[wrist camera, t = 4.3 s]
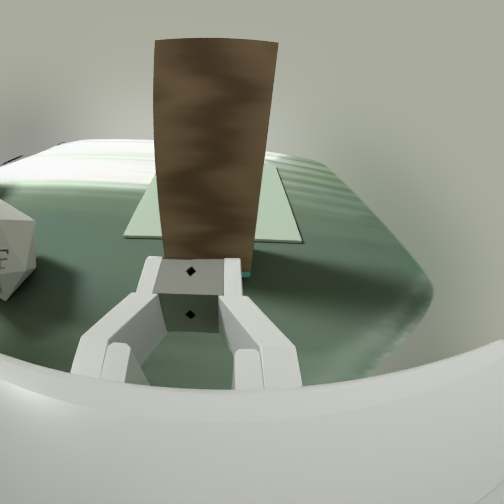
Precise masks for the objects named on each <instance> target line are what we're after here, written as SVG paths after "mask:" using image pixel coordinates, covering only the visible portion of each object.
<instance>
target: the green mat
mask: <svg viewBox="0 0 504 504" xmlns="http://www.w3.org/2000/svg"><path fill="white" fill-rule="evenodd" d="M123 236H124V238H160V239H162V232H161V223H160V214H159V204H158V193H157V181H156V174H155V176H154V178H153V179H152V181H151V183H150V185H149V186H148V188H147V190H146V192H145V194H144V196H143V197H142V199H141V201H140V203H139V205H138V207H137V209H136V211H135V213H134V215H133V217H132V219H131V221H130V223H129V225H128V227H127V229H126V231H125V233H124V235H123ZM254 241H260V242H287V243H301V242H302V240H301V237H300V234H299V231H298V228H297V225H296V222H295V219H294V216H293V214H292V211H291V208H290V205H289V202H288V199H287V197H286V194H285V191H284V188H283V186H282V183H281V180H280V177H279V175H278V172H277V169H276V167H275V165H264V166H263V174H262V182H261V191H260V199H259V207H258V215H257V223H256V231H255V240H254Z"/></svg>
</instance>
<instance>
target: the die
mask: <svg viewBox="0 0 504 504" xmlns="http://www.w3.org/2000/svg"><path fill="white" fill-rule="evenodd" d="M35 268H36V250H35V220H33V219H32V218H30V217H28V216H27V215H25V214H23V213H22V212H20V211H19V210H17V209H15V208H14V207H12V206H11V205H9V204H7V203H6V202H4V201H3V200H1V199H0V298H1V299H3V300H4V301H7V300H8V298H9V297H10V296H11V295H12V294H13V293H14V291H15V290H16V289H17V288H18V287H19V286H20V285H21V283H22V282H23V281H24V280H25V279H26V278H27V277H28V276H29V275H30V274H31V273H32V272H33V270H34V269H35Z"/></svg>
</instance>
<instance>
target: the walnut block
mask: <svg viewBox="0 0 504 504" xmlns="http://www.w3.org/2000/svg"><path fill="white" fill-rule="evenodd" d="M277 51H278V43H276V42H268V41H259V40H247V39H230V38H184V39H166V40H155V50H154V79H153V80H154V82H153V86H154V87H153V118H154V148H155V167H156V181H157V193H158V204H159V214H160V223H161V232H162V240H163V248H164V255H165V257H183V258H240V260H241V273H242V277H250V272H251V264H252V256H253V248H254V240H255V231H256V223H257V215H258V207H259V199H260V191H261V182H262V174H263V166H264V158H265V150H266V141H267V133H268V125H269V117H270V109H271V100H272V92H273V83H274V74H275V67H276V59H277Z"/></svg>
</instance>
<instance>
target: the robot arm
mask: <svg viewBox="0 0 504 504" xmlns="http://www.w3.org/2000/svg"><path fill="white" fill-rule="evenodd" d="M167 331H174V332H204V333H219V335H220V337H221V338H222V340H223V341H224V343H225V344H226V346H227V347H228V349H229V350H230V352H231V353H232V355H233V356H234V366H233V380H232V390H212V389H186V388H170V387H158V386H150V384H149V382H148V381H147V379H146V377H145V375H144V373H143V371H142V369H141V366H142V364H143V363H144V362H145V360H146V359H147V358H148V357H149V355H150V354H151V353H152V352H153V350H154V349H155V348H156V347H157V345H158V344H159V343H160V342H161V340H162V339H163V338H164V337H165V335H166V334H167ZM0 504H504V339H501V340H497V341H495V342H493V343H490V344H487V345H485V346H482V347H479V348H477V349H474V350H471V351H468V352H465V353H462V354H459V355H456V356H453V357H450V358H447V359H443V360H440V361H436V362H433V363H430V364H426V365H422V366H418V367H414V368H410V369H406V370H402V371H398V372H393V373H388V374H383V375H378V376H373V377H367V378H362V379H356V380H350V381H343V382H336V383H328V384H320V385H311V386H302V381H301V375H300V369H299V364H298V359H297V353H296V348H295V346H294V345H293V344H292V343H291V342H290V341H289V340H288V339H287V337H286V336H285V335H284V334H283V333H282V332H281V331H280V330H279V329H278V328H277V327H276V326H275V325H274V324H273V323H272V322H271V321H270V320H269V318H268V317H267V316H266V315H265V314H264V313H263V312H262V311H261V310H260V309H259V308H258V307H257V306H256V305H255V303H254V302H253V301H252V300H251V299H250V298H249V297H248V296H243V289H242V273H241V260H240V258H183V257H156V256H149V257H148V258H147V259H146V262H145V265H144V268H143V271H142V274H141V277H140V281H139V284H138V287H137V291H136V293H130V294H129V295H128V296H127V297H126V298H125V299H123V300H122V301H121V302H120V303H119V304H118V305H116V306H115V307H114V308H113V309H112V310H111V311H109V312H108V313H107V314H106V315H105V316H104V317H103V318H101V319H100V320H99V321H98V322H97V323H96V324H95V325H93V326H92V327H91V328H90V329H89V330H88V331H87V332H86V333H84V334H83V335H82V336H81V338H80V341H79V345H78V348H77V351H76V354H75V357H74V361H73V364H72V368H71V371H70V373H68V372H64V371H59V370H55V369H51V368H47V367H43V366H40V365H36V364H33V363H29V362H26V361H23V360H19V359H16V358H13V357H10V356H7V355H4V354H1V353H0Z"/></svg>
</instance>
